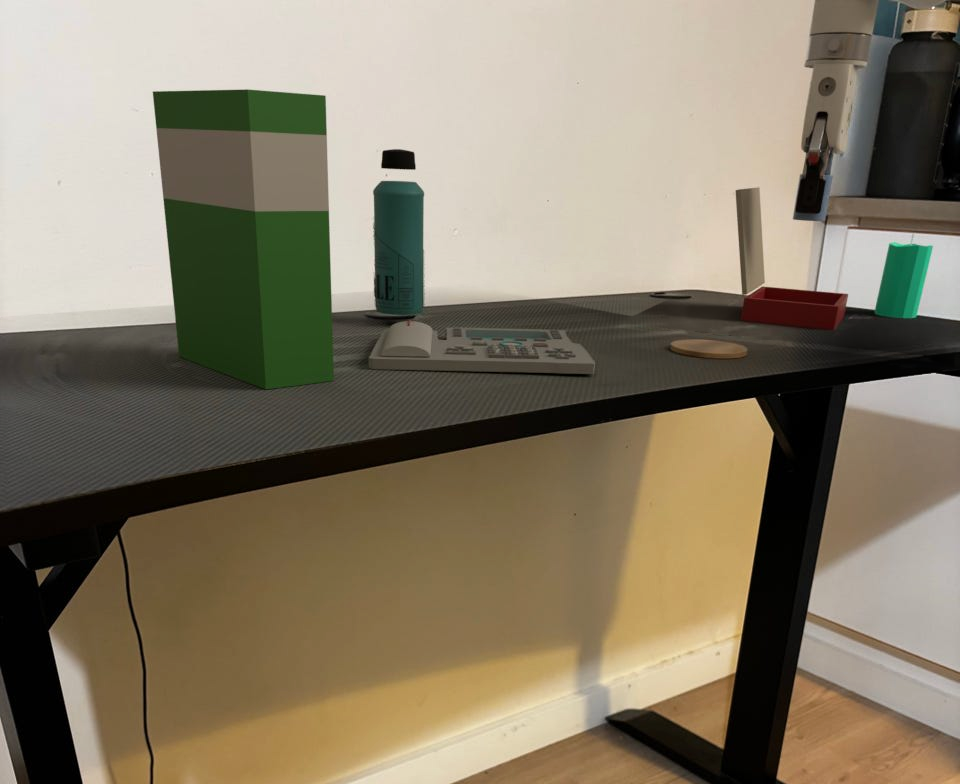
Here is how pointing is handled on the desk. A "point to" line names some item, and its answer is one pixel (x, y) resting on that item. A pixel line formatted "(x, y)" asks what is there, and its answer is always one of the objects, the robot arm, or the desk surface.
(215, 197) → the cereal box
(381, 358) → the office telephone
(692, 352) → the coaster
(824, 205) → the blue cylinder
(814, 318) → the shallow red crate
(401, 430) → the desk surface
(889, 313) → the candle
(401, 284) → the beverage bottle
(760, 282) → the grey flat panel
